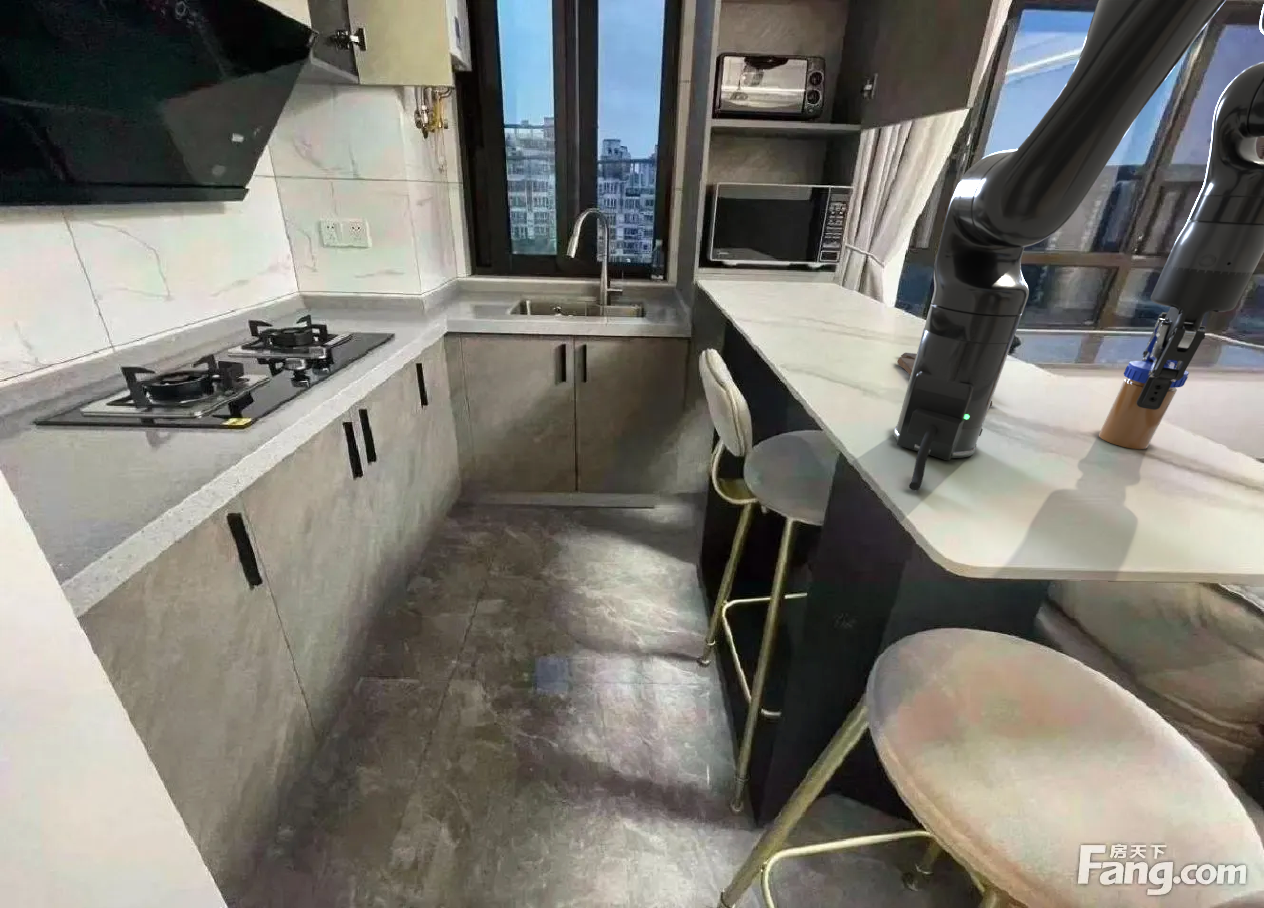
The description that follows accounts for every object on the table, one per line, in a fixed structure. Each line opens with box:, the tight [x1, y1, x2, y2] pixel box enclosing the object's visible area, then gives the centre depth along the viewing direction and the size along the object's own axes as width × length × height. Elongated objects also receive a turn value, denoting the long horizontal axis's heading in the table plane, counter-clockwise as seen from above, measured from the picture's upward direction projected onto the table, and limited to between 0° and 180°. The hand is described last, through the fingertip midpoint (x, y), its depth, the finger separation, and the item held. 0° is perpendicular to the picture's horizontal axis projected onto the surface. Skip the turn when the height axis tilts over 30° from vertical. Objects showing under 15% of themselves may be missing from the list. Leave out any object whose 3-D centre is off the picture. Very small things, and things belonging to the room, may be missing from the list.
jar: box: [1098, 378, 1178, 450], centre depth 71 cm, size 5×5×9 cm
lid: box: [1123, 360, 1190, 389], centre depth 69 cm, size 6×6×2 cm
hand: (1144, 400), depth 70 cm, fingers closed on lid, 5 cm apart
